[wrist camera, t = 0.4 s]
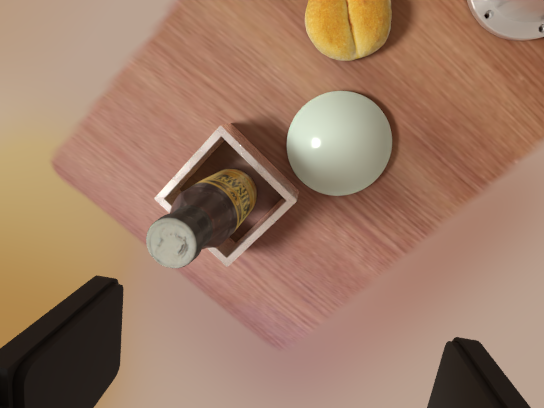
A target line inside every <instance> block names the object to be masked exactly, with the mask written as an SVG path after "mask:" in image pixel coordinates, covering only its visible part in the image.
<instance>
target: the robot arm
mask: <svg viewBox="0 0 544 408" xmlns="http://www.w3.org/2000/svg"><path fill="white" fill-rule="evenodd" d="M467 2H468V6H469V8H470V10H471V12H472V14H473V16H474V17H475V19H476V20H477V21H478V23H479V24H480V25H481V26H482V27H483V28H485V29H486V30H487V31H488V32H490V33H492V34H494V35H496V36H498V37H500V38H504V39H508V40H516V41H525V40H532V39H537V38H541V37H544V0H467ZM485 14H486V15H487V19H486V18H485V17H484V15H485ZM539 28H540V32H539ZM122 306H123V286H122V285H120V284H118V280H117V279H114V278H108V277H102V276H95V277H93V278H92V279H91V280H90V281H88V282H87V283H86V284H84V285H83V286H81V287H80V288H79V289H78V290H76V291H75V292H74V293H72V294H71V295H70V296H68V297H67V298H66V299H65V300H63V301H62V302H61V303H59V304H58V305H57V306H55V307H54V308H53V309H51V310H50V311H49V312H48V313H46V314H45V315H44V316H42V317H41V318H40V319H39V320H37V321H36V322H34V323H33V324H32V325H30V326H29V327H28V328H27V329H25V330H24V331H23V332H21V333H20V334H19V335H17V336H16V337H15V338H13V339H12V340H11V341H10V342H8V343H7V344H6V345H4V346H3V347H2V348H0V408H93V407H94V406H95V405H96V403H97V402H98V400H99V399H100V398H101V396H102V395H103V394H104V392H105V391H106V390H107V388H108V387H109V385H110V384H111V383H112V381H113V380H114V378H115V377H116V375H117V373H118V370H119V366H120V353H121V331H122V330H121V329H122V308H123V307H122ZM427 408H530V406H529V405H528V404H527V402H526V401H525V400H524V399H523V397H522V396H521V395H520V393H519V392H518V391H517V389H516V388H515V387H514V386H513V384H512V383H511V382H510V380H509V379H508V378H507V377H506V375H505V374H504V373H503V371H502V370H501V369H500V367H499V366H498V365H497V364H496V362H495V361H494V360H493V358H492V357H491V356H490V355H489V353H488V352H487V351H486V349H485V348H484V347H483V346H482V344H481V343H480V342H479V341H476V340H470V339H464V338H459V337H456V338H454V339H453V341H452V342H451V341H448V342H447V343H446V345H445V348H444V352H443V355H442V359H441V362H440V366H439V369H438V372H437V376H436V379H435V383H434V386H433V390H432V393H431V396H430V400H429V403H428V407H427Z"/></svg>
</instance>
